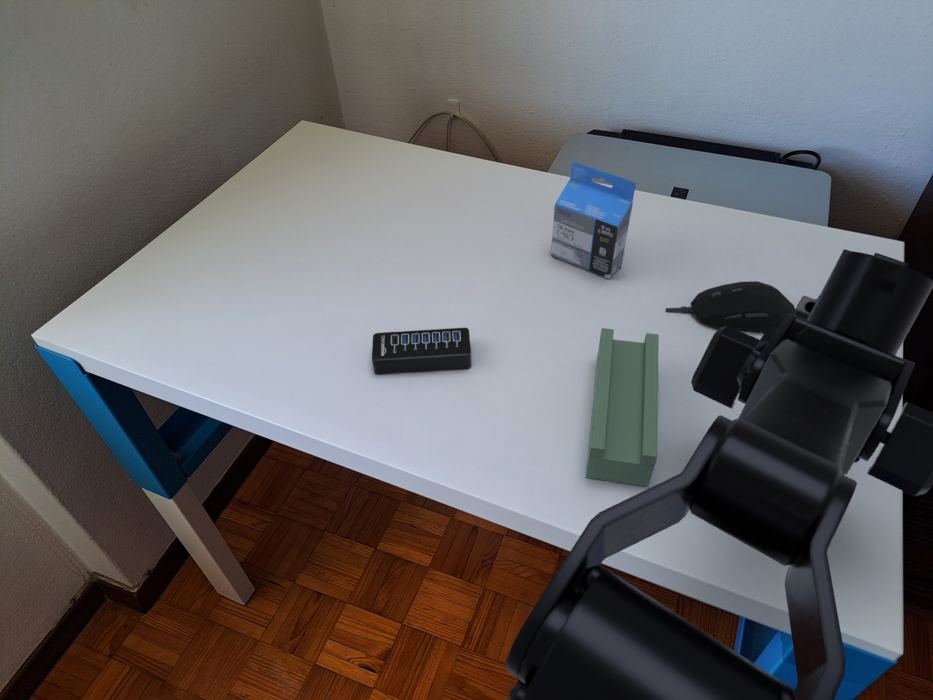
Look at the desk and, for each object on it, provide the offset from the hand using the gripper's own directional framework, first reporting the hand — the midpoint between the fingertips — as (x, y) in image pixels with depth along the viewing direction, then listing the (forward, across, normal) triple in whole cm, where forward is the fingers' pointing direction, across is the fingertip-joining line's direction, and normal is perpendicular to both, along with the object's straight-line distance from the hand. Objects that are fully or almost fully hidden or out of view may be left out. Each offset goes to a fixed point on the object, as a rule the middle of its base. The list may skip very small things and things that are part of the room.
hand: (814, 406), depth 63 cm
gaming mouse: (+16, +13, -6) cm, 22 cm away
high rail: (+1, +16, +9) cm, 18 cm away
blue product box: (+15, +32, -5) cm, 36 cm away
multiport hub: (-3, +38, +14) cm, 40 cm away
